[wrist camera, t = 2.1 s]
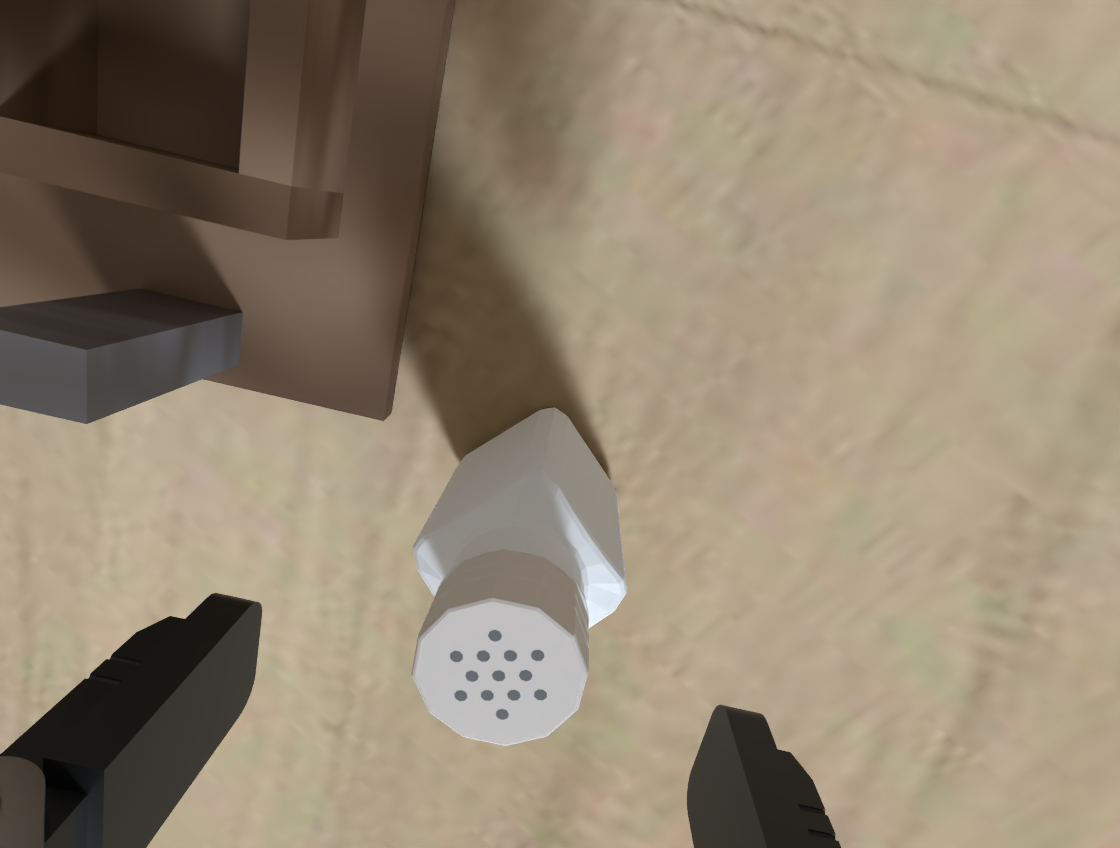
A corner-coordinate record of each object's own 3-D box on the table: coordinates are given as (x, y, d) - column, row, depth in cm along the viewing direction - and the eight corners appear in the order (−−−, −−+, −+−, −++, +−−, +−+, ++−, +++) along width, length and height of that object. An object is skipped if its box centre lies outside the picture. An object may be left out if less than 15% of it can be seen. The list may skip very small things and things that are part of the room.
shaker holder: (-13, -448, 14) (-507, -1002, 8) (503, -313, 15) (436, -741, 8) (13, 325, 20) (-270, 373, 13) (391, 413, 20) (295, 502, 14)
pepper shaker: (522, 554, 21) (471, 795, 12) (453, 458, 20) (343, 643, 11) (624, 496, 21) (652, 708, 11) (557, 394, 20) (529, 537, 11)
